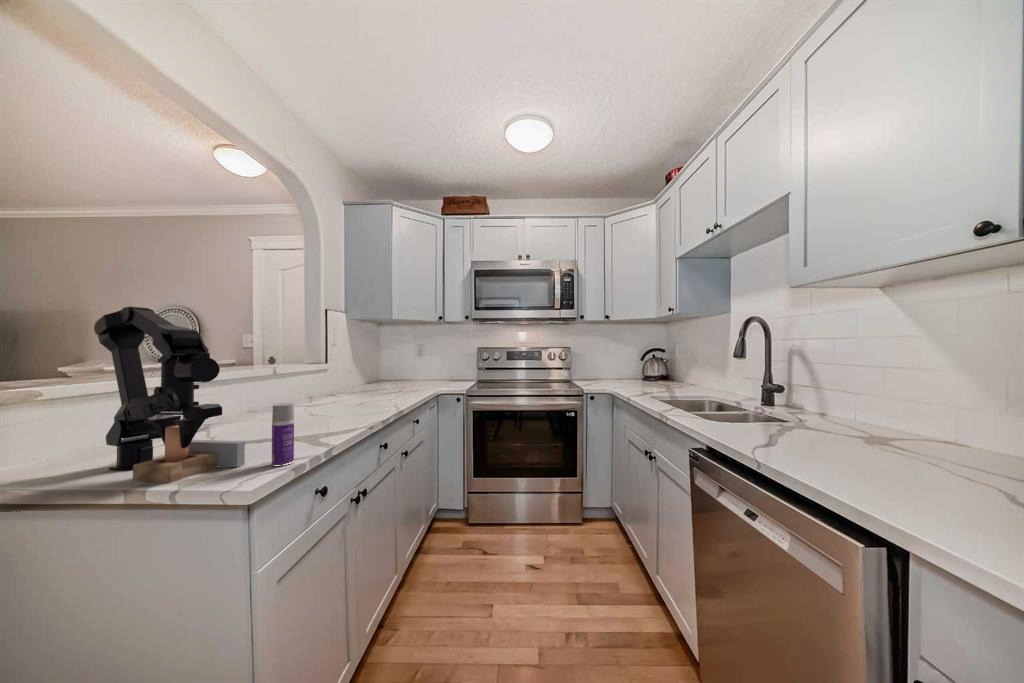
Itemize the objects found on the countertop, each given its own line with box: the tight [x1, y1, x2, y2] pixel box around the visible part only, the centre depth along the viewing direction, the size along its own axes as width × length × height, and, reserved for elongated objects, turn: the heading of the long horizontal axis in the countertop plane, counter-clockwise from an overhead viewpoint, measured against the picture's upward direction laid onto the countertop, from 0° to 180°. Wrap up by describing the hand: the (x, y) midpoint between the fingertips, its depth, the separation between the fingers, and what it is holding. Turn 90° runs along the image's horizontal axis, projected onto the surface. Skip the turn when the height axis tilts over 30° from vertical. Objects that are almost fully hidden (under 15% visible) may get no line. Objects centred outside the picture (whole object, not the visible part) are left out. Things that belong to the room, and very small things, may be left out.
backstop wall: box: [188, 439, 246, 468], centre depth 87 cm, size 16×2×6 cm, turn 82°
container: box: [271, 402, 295, 466], centre depth 88 cm, size 5×5×15 cm
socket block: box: [132, 452, 217, 483], centre depth 81 cm, size 10×10×4 cm
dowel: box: [164, 425, 188, 463], centre depth 82 cm, size 4×4×8 cm
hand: (176, 447), depth 82 cm, fingers closed on dowel, 4 cm apart
